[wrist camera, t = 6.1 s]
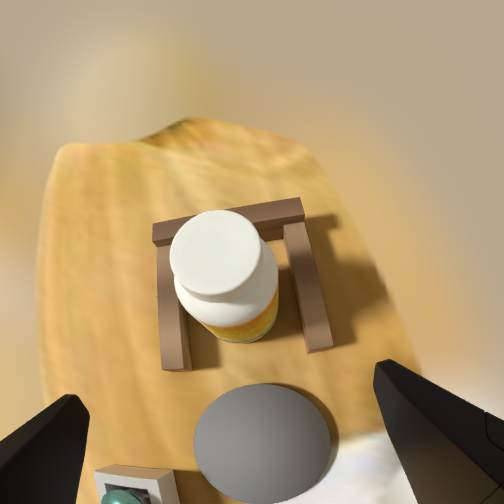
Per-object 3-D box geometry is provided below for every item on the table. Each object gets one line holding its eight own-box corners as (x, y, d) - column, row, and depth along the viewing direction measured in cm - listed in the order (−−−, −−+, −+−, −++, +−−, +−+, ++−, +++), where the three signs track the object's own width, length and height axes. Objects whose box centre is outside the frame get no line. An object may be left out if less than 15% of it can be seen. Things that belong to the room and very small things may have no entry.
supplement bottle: (189, 314, 21) (130, 259, 12) (236, 260, 23) (209, 178, 14) (246, 361, 19) (218, 338, 11) (294, 301, 21) (303, 235, 12)
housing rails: (328, 349, 19) (336, 342, 16) (172, 372, 19) (156, 368, 17) (298, 219, 24) (299, 197, 21) (165, 242, 24) (152, 223, 21)
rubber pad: (336, 489, 14) (338, 491, 14) (206, 504, 14) (204, 507, 14) (318, 373, 18) (319, 372, 18) (188, 391, 18) (185, 391, 18)
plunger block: (185, 524, 14) (172, 539, 11) (126, 516, 14) (107, 528, 11) (172, 469, 16) (156, 479, 13) (113, 464, 16) (92, 471, 13)
